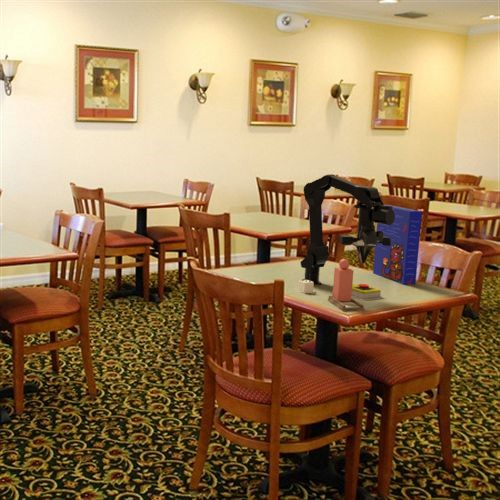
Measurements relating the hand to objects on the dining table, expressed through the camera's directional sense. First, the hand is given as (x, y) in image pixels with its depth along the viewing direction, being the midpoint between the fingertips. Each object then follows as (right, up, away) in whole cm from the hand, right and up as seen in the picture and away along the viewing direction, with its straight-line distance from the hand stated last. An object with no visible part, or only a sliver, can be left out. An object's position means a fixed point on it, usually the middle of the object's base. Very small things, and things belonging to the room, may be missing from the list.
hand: (362, 263), depth 247 cm
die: (-21, -11, +3) cm, 24 cm away
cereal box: (+19, -7, +34) cm, 40 cm away
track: (-9, -14, -15) cm, 23 cm away
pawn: (-9, -13, -12) cm, 20 cm away
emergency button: (0, -12, +3) cm, 13 cm away
